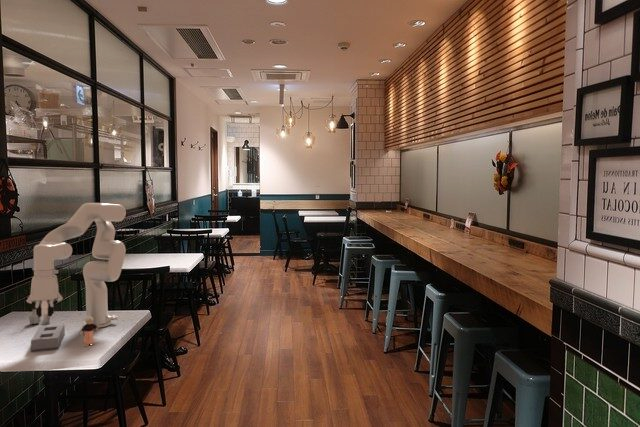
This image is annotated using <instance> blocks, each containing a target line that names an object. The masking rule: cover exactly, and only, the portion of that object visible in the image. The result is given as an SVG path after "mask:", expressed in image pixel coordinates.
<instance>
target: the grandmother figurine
mask: <svg viewBox="0 0 640 427" xmlns="http://www.w3.org/2000/svg"><path fill="white" fill-rule="evenodd" d="M92 321H93V317H91V316H88V317H87V316H86V317H85V318H84V323H85V322H86V323H87V324H86V325H85V326H82V328H81V330H80V333H79V335H81V336H82V335H83V334H84V340H83V347H84V346H86V347H89V346H88V345H89V344H94V345H95V342H94V330H95V331H96V332H98V331H99V329H100V328H97V326H96V325H95V324H91V323H92Z"/></svg>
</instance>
